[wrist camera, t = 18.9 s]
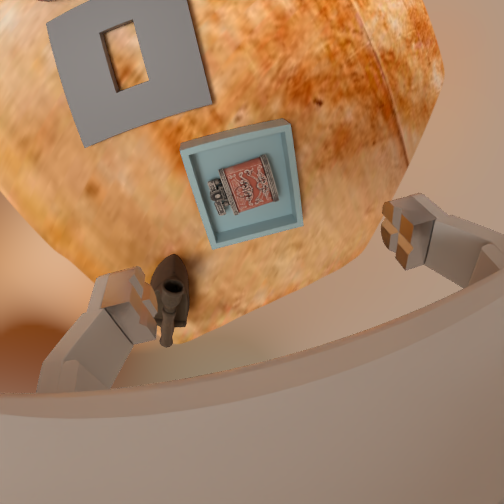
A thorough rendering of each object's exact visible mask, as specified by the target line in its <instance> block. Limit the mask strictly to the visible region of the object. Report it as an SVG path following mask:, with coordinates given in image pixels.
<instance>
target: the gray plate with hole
mask: <svg viewBox="0 0 504 504" xmlns="http://www.w3.org/2000/svg"><path fill="white" fill-rule="evenodd" d="M131 22H134V26H135V30H136V34H137V37H138V41H139V45H140V49H141V52H142V56H143V60H144V63H145V67H146V70H147V74H148V77H149V81H147V82H144V83H141V84H138V85H135V86H133V87H130V88H127V89H125V90H122V91H119V88H118V85H117V82H116V78H115V75H114V71H113V68H112V65H111V61H110V58H109V54H108V50H107V47H106V43H105V39H104V35H103V34H104V33H106V32H108V31H111V30H113V29H115V28H118V27H120V26H123V25H126V24H128V23H131ZM46 26H47V30H48V35H49V39H50V43H51V47H52V51H53V55H54V58H55V62H56V65H57V69H58V72H59V76H60V79H61V82H62V86H63V89H64V92H65V95H66V98H67V101H68V104H69V107H70V110H71V113H72V116H73V118H74V121H75V124H76V127H77V129H78V132H79V135H80V137H81V140H82V142H83V145H84V148H86V147H88V146H91V145H93V144H95V143H98V142H100V141H102V140H105V139H107V138H110V137H112V136H115V135H117V134H120V133H122V132H125V131H128V130H130V129H133V128H136V127H139V126H141V125H144V124H147V123H150V122H153V121H156V120H159V119H162V118H165V117H168V116H171V115H175V114H178V113H181V112H185V111H188V110H192V109H195V108H199V107H203V106H206V105H210V104H212V101H211V97H210V93H209V88H208V84H207V80H206V76H205V72H204V68H203V64H202V60H201V56H200V52H199V48H198V44H197V40H196V36H195V32H194V28H193V24H192V20H191V16H190V12H189V8H188V4H187V0H89V1H87V2H85V3H83V4H81V5H79V6H77V7H75V8H73V9H71V10H69V11H67V12H65V13H64V14H62V15H60V16H58V17H56V18H55V19H53V20H51V21H49V22H48V23H46Z"/></svg>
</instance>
